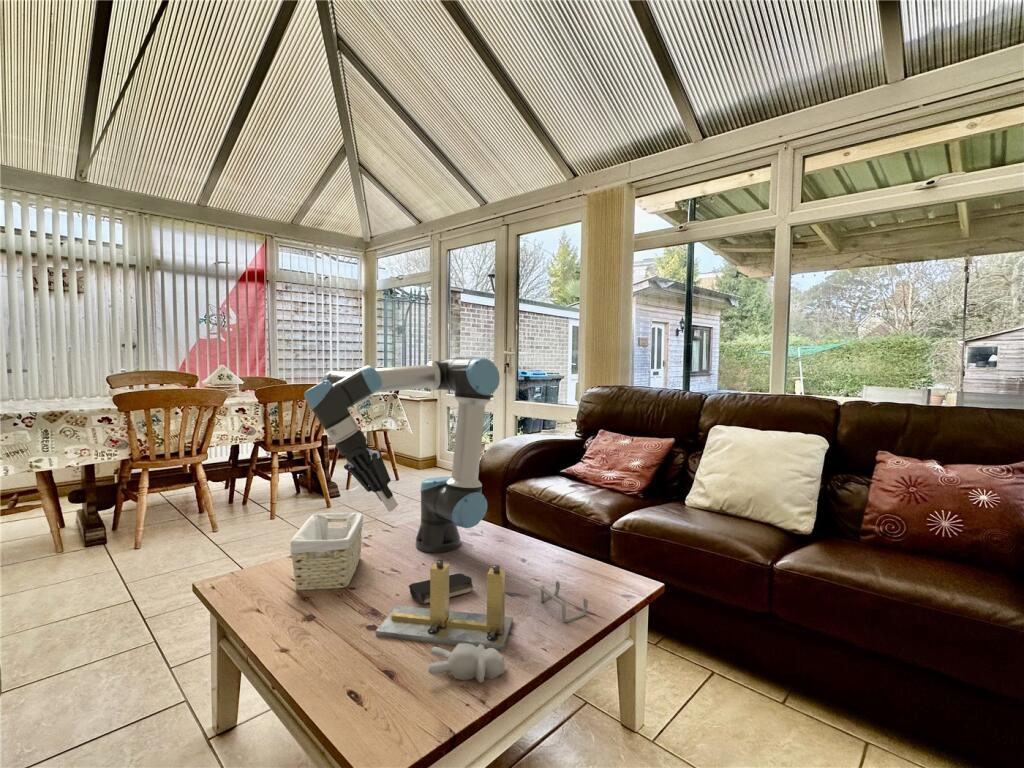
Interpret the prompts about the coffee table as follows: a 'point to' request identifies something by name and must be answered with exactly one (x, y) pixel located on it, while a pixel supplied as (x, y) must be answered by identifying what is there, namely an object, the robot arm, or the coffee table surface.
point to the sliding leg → (439, 594)
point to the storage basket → (326, 551)
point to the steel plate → (443, 629)
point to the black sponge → (456, 587)
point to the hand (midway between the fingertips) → (393, 508)
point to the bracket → (554, 597)
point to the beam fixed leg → (493, 607)
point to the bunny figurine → (469, 662)
